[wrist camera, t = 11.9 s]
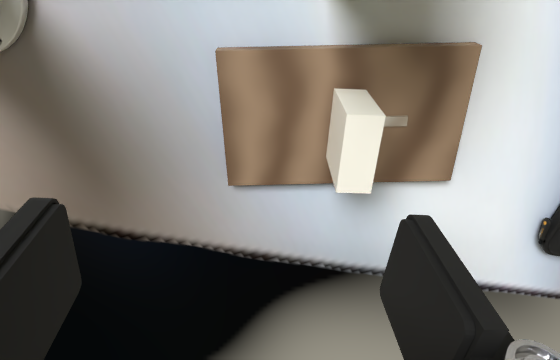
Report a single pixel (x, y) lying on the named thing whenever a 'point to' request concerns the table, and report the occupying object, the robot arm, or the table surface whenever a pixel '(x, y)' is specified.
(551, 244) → the carrying case or bag
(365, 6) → the table surface
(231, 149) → the flat brown board
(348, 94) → the cream cuboid brick
